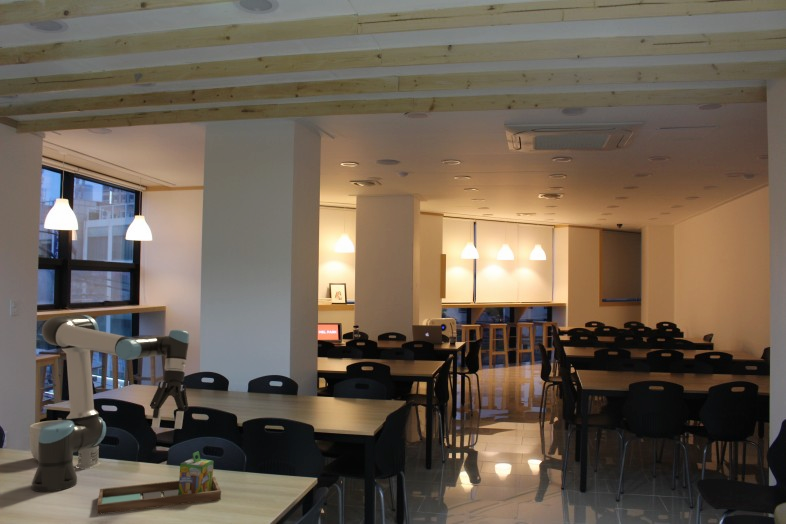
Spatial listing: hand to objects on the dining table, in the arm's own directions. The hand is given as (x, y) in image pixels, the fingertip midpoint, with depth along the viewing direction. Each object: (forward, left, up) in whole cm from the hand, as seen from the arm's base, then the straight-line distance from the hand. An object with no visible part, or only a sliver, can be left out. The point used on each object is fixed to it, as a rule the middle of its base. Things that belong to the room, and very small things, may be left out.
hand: (167, 428), depth 224 cm
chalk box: (+6, +10, -23) cm, 26 cm away
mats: (+6, -2, -23) cm, 24 cm away
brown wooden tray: (+6, -2, -23) cm, 24 cm away
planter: (-65, -44, -24) cm, 82 cm away
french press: (-49, -28, -24) cm, 62 cm away
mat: (+6, -15, -23) cm, 28 cm away
